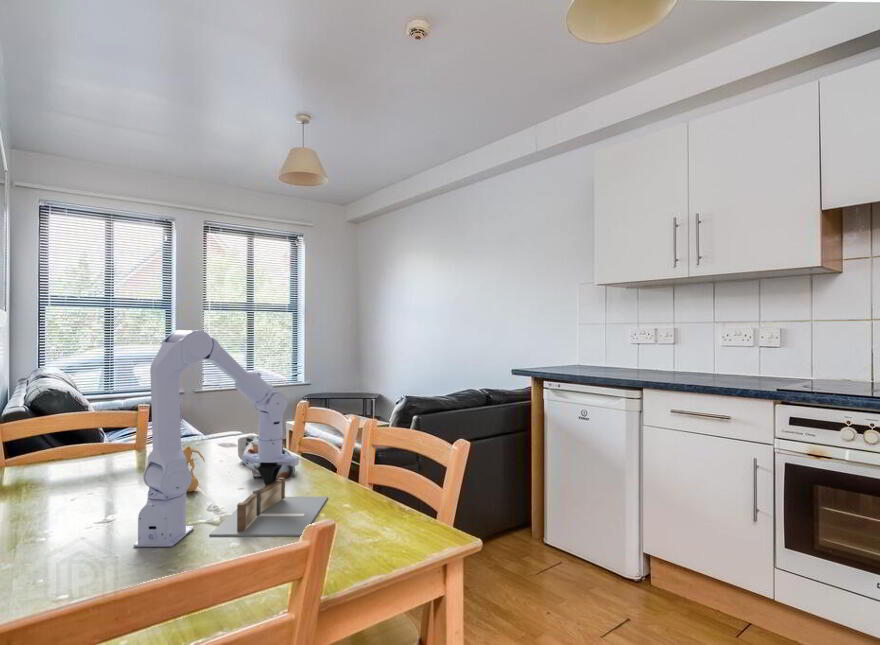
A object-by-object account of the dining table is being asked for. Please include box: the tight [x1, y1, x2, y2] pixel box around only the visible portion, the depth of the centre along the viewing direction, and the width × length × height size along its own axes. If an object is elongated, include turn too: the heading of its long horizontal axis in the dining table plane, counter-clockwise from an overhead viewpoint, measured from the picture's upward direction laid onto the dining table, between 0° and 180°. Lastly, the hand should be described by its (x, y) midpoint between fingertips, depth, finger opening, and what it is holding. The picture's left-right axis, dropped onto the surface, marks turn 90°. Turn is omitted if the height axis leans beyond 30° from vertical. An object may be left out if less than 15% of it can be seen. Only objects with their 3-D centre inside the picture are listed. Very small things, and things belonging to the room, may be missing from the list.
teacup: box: [237, 435, 258, 461], centre depth 167 cm, size 14×11×8 cm
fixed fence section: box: [236, 489, 260, 532], centre depth 114 cm, size 10×2×6 cm, turn 0°
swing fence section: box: [258, 477, 286, 512], centre depth 124 cm, size 10×1×5 cm, turn 165°
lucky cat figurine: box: [244, 435, 296, 480], centre depth 150 cm, size 15×12×14 cm
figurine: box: [182, 445, 206, 493], centre depth 137 cm, size 8×6×12 cm
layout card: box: [208, 496, 329, 537], centre depth 119 cm, size 24×20×1 cm
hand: (270, 492), depth 126 cm, fingers closed
